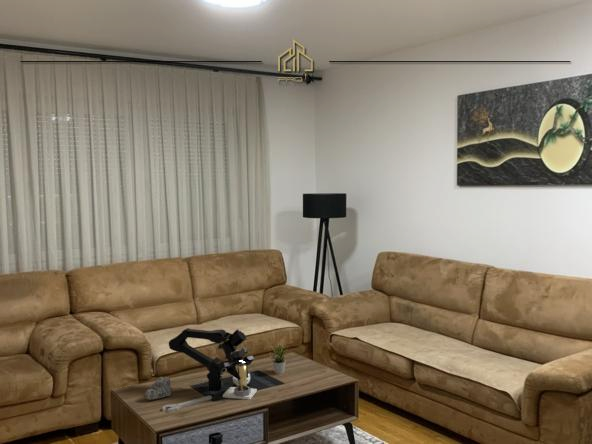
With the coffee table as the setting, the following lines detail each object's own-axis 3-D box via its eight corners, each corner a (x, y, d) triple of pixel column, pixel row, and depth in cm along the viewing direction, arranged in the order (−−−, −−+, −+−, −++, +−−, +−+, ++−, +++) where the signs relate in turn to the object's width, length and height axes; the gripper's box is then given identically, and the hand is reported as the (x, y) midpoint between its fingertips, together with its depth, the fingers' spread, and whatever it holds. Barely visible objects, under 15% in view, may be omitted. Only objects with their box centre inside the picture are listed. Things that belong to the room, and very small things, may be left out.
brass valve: (236, 392, 282) (236, 363, 280) (239, 388, 286) (239, 360, 285) (244, 393, 280) (244, 364, 279) (248, 389, 285) (247, 361, 283)
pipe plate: (222, 397, 282) (222, 390, 281) (230, 389, 293) (230, 382, 292) (249, 399, 278) (249, 392, 278) (256, 391, 289) (256, 384, 289)
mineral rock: (146, 402, 276) (145, 382, 275) (144, 395, 286) (143, 375, 286) (173, 399, 280) (172, 379, 280) (170, 391, 291) (170, 372, 290)
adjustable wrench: (210, 398, 282) (210, 394, 282) (215, 402, 277) (215, 398, 277) (161, 409, 269) (161, 405, 269) (166, 414, 264) (166, 410, 263)
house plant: (264, 368, 324) (263, 340, 323) (288, 366, 326) (287, 338, 325) (267, 376, 310) (266, 347, 309) (292, 374, 312) (292, 345, 311)
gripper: (221, 347, 278) (234, 374, 271) (251, 339, 290) (265, 365, 283) (212, 359, 284) (225, 386, 277) (242, 351, 297) (256, 377, 289)
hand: (243, 378), depth 282 cm, fingers closed on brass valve, 4 cm apart
